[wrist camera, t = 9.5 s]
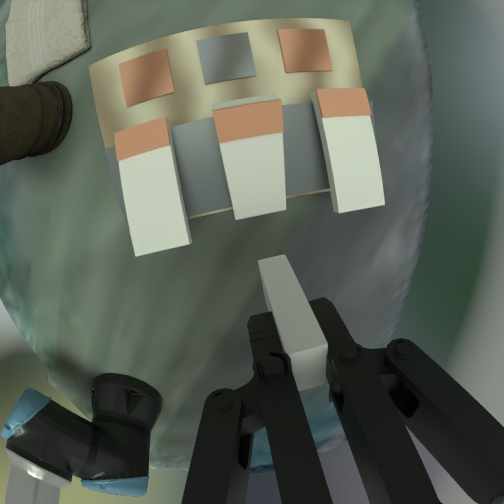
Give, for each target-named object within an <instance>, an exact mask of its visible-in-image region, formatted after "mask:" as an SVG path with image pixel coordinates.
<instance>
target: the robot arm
mask: <svg viewBox="0 0 504 504" xmlns="http://www.w3.org/2000/svg"><path fill="white" fill-rule="evenodd" d="M258 265H259V270H260V275H261V280H262V286H263V291H264V296H265V300H266V304H267V307H268V311H269V312H266V313H262V314H257V315H253V316H250V318H249V321H248V324H247V326H248V332H249V337H250V342H251V348H252V353H253V359H254V361H253V371H254V376H253V378H252V379H251V380H250V381H249V382H248V383H247V384H246V385H244V386H242V387H240V388H238V389H236V390H232V389H227V388H224V389H218V390H216V391H214V392H212V393H211V394H210V395H209V396H208V397H207V399H206V401H205V404H204V408H203V412H202V417H201V421H200V425H199V429H198V434H197V438H196V442H195V446H194V451H193V455H192V459H191V463H190V468H189V472H188V477H187V481H186V485H185V490H184V495H183V499H182V503H181V504H245V502H246V494H247V487H248V480H249V472H250V464H251V456H252V447H253V439H254V432H255V431H257V430H259V429H261V428H263V427H265V426H266V431H267V435H268V440H269V445H270V450H271V455H272V459H273V464H274V469H275V473H276V478H277V483H278V487H279V492H280V496H281V501H282V504H333V502H332V499H331V496H330V493H329V489H328V486H327V483H326V480H325V476H324V473H323V470H322V466H321V463H320V460H319V456H318V453H317V450H316V447H315V443H314V440H313V437H312V434H311V430H310V427H309V424H308V421H307V417H306V414H305V411H304V408H303V404H302V401H301V398H300V395H299V391H301V390H305V389H309V388H312V387H316V386H319V385H322V384H326V378H327V380H328V383H329V385H330V390H329V402H332V400H333V403H334V406H335V408H336V411H337V414H338V416H339V419H340V422H341V424H342V427H343V430H344V432H345V435H346V438H347V440H348V443H349V446H350V448H351V451H352V454H353V456H354V459H355V462H356V465H357V467H358V471H359V473H360V476H361V479H362V482H363V485H364V487H365V490H366V493H367V496H368V499H369V502H370V504H442V503H441V502H440V501H439V499H438V497H437V494H436V492H435V490H434V487H433V485H432V483H431V480H430V478H429V476H428V473H427V471H426V469H425V467H424V465H423V462H422V460H421V458H420V456H419V454H418V451H417V449H416V447H415V445H414V443H413V441H412V439H411V437H410V435H409V433H408V431H407V429H406V426H407V427H408V429H409V430H410V431H411V432H412V433H413V434H414V435H415V436H416V438H417V439H418V440H419V441H420V442H421V443H422V444H423V445H424V446H425V448H426V449H427V450H428V451H429V452H430V453H431V454H432V455H433V457H434V458H435V459H436V460H437V461H438V462H439V463H440V464H441V466H442V467H443V468H444V469H445V470H446V471H447V472H448V473H449V474H450V476H451V477H452V478H453V479H454V480H455V481H456V482H457V484H458V485H459V486H460V487H461V488H462V489H463V490H464V491H465V492H466V493H467V495H468V496H469V497H470V498H472V499H473V500H474V501H475V502H477V503H478V504H504V427H503V426H502V425H501V424H500V423H499V422H498V421H497V420H496V419H495V418H494V417H493V416H492V415H491V414H490V413H489V412H488V411H487V410H486V409H485V408H484V407H483V406H482V405H480V403H479V402H478V401H477V400H475V399H474V398H473V397H472V396H471V395H470V394H469V393H468V392H467V391H466V390H465V389H464V388H463V387H462V386H460V384H458V383H457V382H456V381H455V380H454V379H453V378H452V377H451V376H450V375H449V374H448V373H446V372H445V371H444V370H443V369H442V368H441V367H440V366H439V365H438V364H437V363H436V362H434V361H433V360H432V359H431V358H430V357H429V356H428V355H427V354H426V353H424V352H423V351H422V350H421V349H420V348H419V347H418V346H417V345H415V344H414V343H413V342H411V341H410V340H408V339H404V338H400V339H395V340H393V341H391V342H390V343H389V344H388V345H387V348H380V349H367V348H363V347H362V346H361V345H359V344H357V343H355V341H354V340H353V338H352V337H351V335H350V333H349V331H348V329H347V328H346V326H345V324H344V322H343V321H342V319H341V318H340V315H339V314H338V312H337V310H336V308H335V307H334V305H333V303H332V302H330V301H329V300H328V299H326V298H325V297H323V298H319V299H315V300H312V301H307V299H306V296H305V294H304V292H303V290H302V288H301V286H300V284H299V282H298V280H297V278H296V276H295V274H294V272H293V270H292V268H291V266H290V264H289V262H288V260H287V258H286V256H285V254H284V255H279V256H275V257H270V258H266V259H262V260H258ZM91 399H92V409H93V419H92V422H90V421H88V420H86V419H84V418H82V417H80V416H79V415H77V414H75V413H73V412H71V411H70V410H68V409H66V408H64V407H62V406H61V405H59V404H58V403H56V402H55V401H53V400H51V398H50V397H47V396H45V395H43V394H41V393H40V392H38V391H37V390H35V389H33V388H27V389H25V390H24V391H23V393H22V394H21V396H20V398H19V399H18V401H17V403H16V405H15V407H14V408H13V410H12V412H11V414H10V416H9V418H8V419H7V422H6V423H5V425H4V427H3V429H2V431H1V435H2V437H3V438H4V439H5V440H7V445H6V448H5V450H6V452H7V454H8V456H9V458H10V460H11V467H10V472H9V478H8V484H7V490H6V497H5V504H59V497H60V489H61V488H62V487H63V486H66V485H69V484H71V480H72V475H74V476H76V477H79V478H81V479H82V480H81V483H82V486H83V487H84V488H88V489H90V490H94V491H98V492H103V493H108V494H114V495H121V496H132V497H139V496H143V495H144V494H146V492H147V487H148V479H149V476H148V473H149V471H148V470H149V449H150V434H151V430H152V428H153V426H154V425H155V422H156V420H157V418H158V416H159V414H160V412H161V407H162V398H161V396H160V395H159V393H158V392H157V391H156V390H155V389H153V388H152V387H151V386H149V385H147V384H146V383H144V382H142V381H139V380H137V379H134V378H131V377H128V376H124V375H119V374H103V375H99V376H97V377H96V378H95V379H94V380H93V384H92V387H91ZM405 425H406V426H405Z"/></svg>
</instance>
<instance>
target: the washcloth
mask: <svg viewBox="0 0 504 504" xmlns="http://www.w3.org/2000/svg"><path fill="white" fill-rule="evenodd" d="M86 3H87V1H86V0H13V1H12V3H11V9H10V14H9V19H8V22H7V23H6V58H7V65H8V66H7V67H8V82H9V85H10V86H21V85H24V84H33V83H34V82H35V81H36V80H38V78H39V77H40V76H41V75H43V74H45V73H46V72H48V71H50V70H51V69H52V68H56V67H58V66H60V65H62V64H63V63H65V62H66V61H68V60H71V59H72V58H75V57H76V56H77V55H79V54H81V53H82V52H84V51H86V50H87V49H89V47H91V45H90V44H91V43H90V39H89V32H90V31H89V30H88V28H89V26H88V22H87V6H86Z"/></svg>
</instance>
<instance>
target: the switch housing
mask: <svg viewBox="0 0 504 504" xmlns="http://www.w3.org/2000/svg"><path fill="white" fill-rule="evenodd" d="M368 102H369V106H370V110H371V114H372V115H370V118H371V122H372V127H373V132H374V137H375V142H376V134H375V122H374V112H373V103H372V101H368ZM282 114H283V130H284V132H283V148H284V168H285V191H286V196H290V195H296V194H301V193H307V192H313V191H319V190H325V189H330V185H329V179H328V173H327V168H326V162H325V157H324V152H323V147H322V142H321V137H320V132H319V128H318V123H317V119H316V114H315V110H314V106H313V102H312V103H300V104H290V105H282ZM171 133H172V139H173V145H174V151H175V157H176V163H177V169H178V174H179V180H180V185H181V190H182V196H183V201H184V206H185V211H186V215H187V217H190V216H194V215H199V214H203V213H207V212H212V211H216V210H221V209H225V208H230V207H233V205H232V201H231V196H230V191H229V187H228V182H227V178H226V173H225V168H224V164H223V159H222V154H221V150H220V145H219V140H218V136H217V131H216V126H215V121H214V117H210V118H205V119H201V120H197V121H193V122H189V123H185V124H181V125H177V126H173V127H171ZM104 152H105V156H106V159H107V163H108V167H109V170H110V173H111V177H112V180H113V183H114V187H115V190H116V193H117V196H118V199H119V202H120V205H121V208H122V211H123V214H124V217H125V220H126V222H127V225H128V228H129V224H128V219H127V213H126V208H125V202H124V196H123V190H122V184H121V177H120V170H119V162H118V161H117V157H116V148H115V145H114V146H111V147H109V148H106V149H104ZM129 231H130V229H129Z"/></svg>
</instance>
